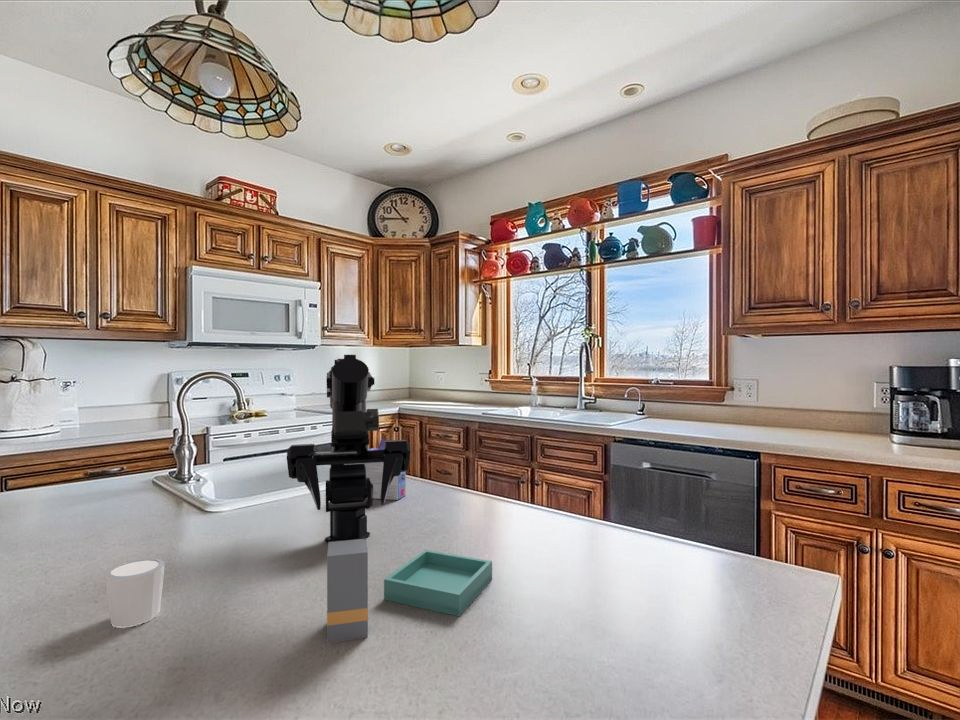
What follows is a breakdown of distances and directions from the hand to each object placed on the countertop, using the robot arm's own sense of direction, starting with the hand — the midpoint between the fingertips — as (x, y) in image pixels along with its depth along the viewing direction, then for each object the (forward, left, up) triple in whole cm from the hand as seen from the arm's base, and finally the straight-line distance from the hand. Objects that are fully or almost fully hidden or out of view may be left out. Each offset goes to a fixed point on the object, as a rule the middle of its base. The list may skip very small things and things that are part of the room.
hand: (351, 506), depth 74 cm
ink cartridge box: (-26, +48, -14) cm, 57 cm away
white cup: (-24, -16, -14) cm, 32 cm away
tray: (+11, +8, -14) cm, 19 cm away
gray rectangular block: (+5, -7, -14) cm, 16 cm away
